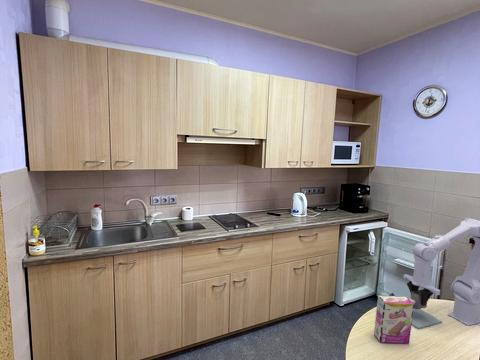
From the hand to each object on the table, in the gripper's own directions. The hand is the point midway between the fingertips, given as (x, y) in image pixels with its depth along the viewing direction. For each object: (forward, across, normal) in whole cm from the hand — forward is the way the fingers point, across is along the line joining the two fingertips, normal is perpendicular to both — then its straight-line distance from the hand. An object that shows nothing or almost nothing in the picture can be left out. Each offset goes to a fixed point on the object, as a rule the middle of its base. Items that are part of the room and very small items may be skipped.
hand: (418, 302), depth 109 cm
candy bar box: (+8, +7, -23) cm, 25 cm away
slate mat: (+7, 0, 0) cm, 7 cm away
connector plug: (+2, 0, -1) cm, 2 cm away
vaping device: (+8, -3, -14) cm, 16 cm away
